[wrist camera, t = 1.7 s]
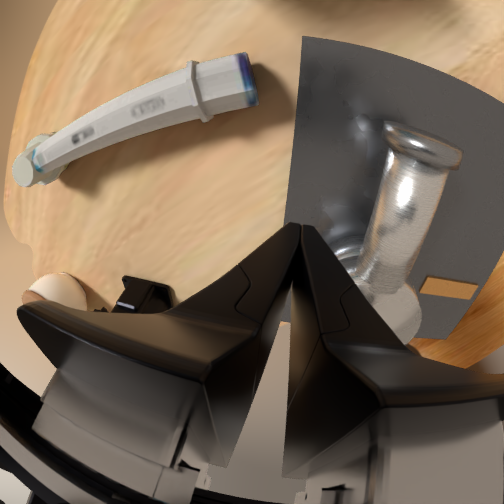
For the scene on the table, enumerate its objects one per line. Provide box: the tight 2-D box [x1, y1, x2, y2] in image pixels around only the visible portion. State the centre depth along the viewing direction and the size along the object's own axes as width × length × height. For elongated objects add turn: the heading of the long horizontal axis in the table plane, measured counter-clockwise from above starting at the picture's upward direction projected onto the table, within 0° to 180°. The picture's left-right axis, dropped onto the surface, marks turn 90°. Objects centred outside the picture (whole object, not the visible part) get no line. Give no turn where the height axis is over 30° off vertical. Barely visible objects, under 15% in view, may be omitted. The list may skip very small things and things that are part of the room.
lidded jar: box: [22, 272, 87, 311], centre depth 33 cm, size 11×11×9 cm
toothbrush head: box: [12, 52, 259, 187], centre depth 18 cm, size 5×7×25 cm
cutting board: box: [281, 36, 504, 339], centre depth 19 cm, size 26×22×4 cm
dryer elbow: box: [339, 121, 464, 345], centre depth 17 cm, size 18×9×5 cm, turn 177°
